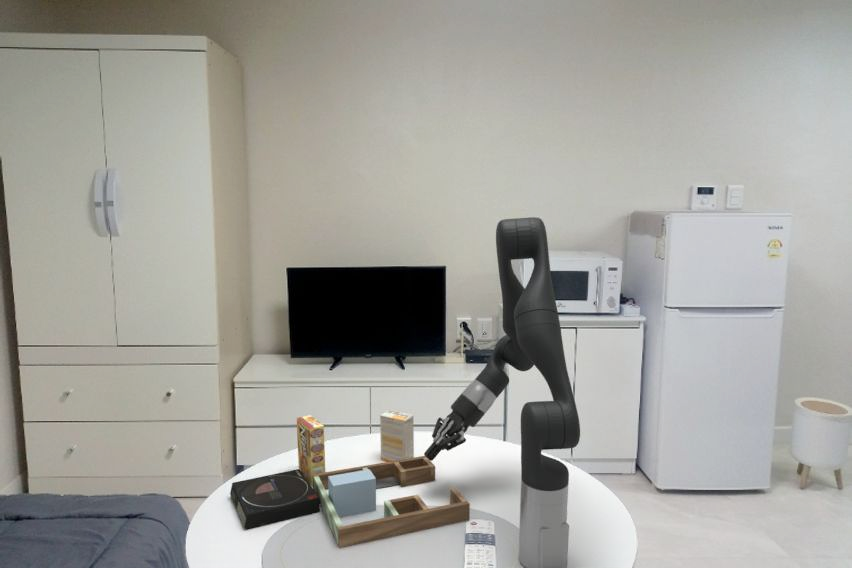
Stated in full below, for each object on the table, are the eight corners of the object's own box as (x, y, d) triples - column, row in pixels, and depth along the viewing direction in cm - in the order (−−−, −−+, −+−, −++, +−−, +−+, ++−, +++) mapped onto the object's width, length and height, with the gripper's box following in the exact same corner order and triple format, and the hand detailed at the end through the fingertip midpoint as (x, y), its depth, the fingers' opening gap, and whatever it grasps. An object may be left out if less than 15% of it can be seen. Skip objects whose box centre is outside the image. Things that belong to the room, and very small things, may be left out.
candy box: (326, 482, 158) (325, 425, 155) (310, 487, 155) (309, 428, 153) (312, 469, 165) (311, 414, 163) (297, 473, 163) (295, 417, 160)
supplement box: (414, 460, 171) (414, 414, 169) (404, 467, 167) (404, 420, 165) (390, 453, 175) (389, 409, 173) (379, 459, 171) (379, 414, 169)
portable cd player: (230, 498, 150) (229, 483, 150) (299, 483, 158) (299, 468, 158) (244, 532, 136) (243, 515, 135) (319, 513, 144) (319, 497, 143)
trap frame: (469, 519, 141) (469, 503, 140) (339, 547, 130) (339, 530, 129) (425, 469, 165) (425, 455, 165) (312, 489, 154) (312, 474, 153)
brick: (376, 510, 145) (375, 478, 143) (333, 518, 141) (333, 485, 140) (369, 500, 149) (369, 469, 148) (328, 508, 146) (328, 476, 144)
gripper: (453, 386, 158) (407, 439, 155) (476, 401, 145) (427, 459, 142) (471, 403, 160) (427, 456, 157) (496, 420, 148) (448, 477, 145)
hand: (427, 457), depth 150 cm, fingers closed
